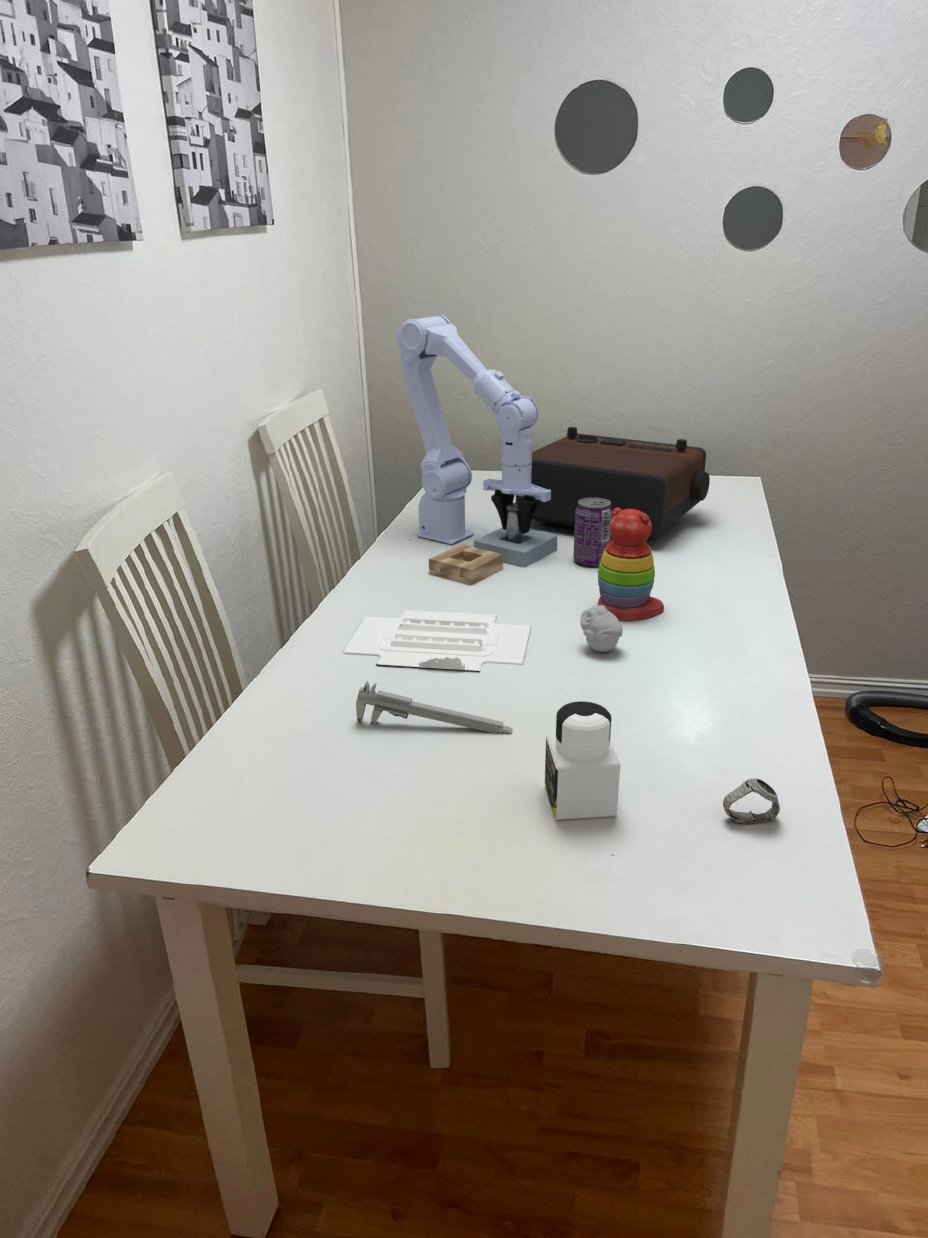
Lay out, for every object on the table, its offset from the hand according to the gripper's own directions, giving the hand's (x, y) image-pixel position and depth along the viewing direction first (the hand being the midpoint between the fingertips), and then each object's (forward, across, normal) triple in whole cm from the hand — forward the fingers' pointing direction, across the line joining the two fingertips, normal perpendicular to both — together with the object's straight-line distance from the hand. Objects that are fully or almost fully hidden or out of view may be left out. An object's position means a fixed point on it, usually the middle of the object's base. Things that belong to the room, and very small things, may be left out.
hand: (515, 530), depth 177 cm
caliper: (+5, +28, -62) cm, 68 cm away
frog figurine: (+5, +35, -29) cm, 46 cm away
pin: (+3, 0, -1) cm, 3 cm away
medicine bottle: (+5, +52, -65) cm, 83 cm away
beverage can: (+5, +15, +4) cm, 16 cm away
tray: (+6, +12, -41) cm, 43 cm away
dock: (+5, 0, 0) cm, 5 cm away
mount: (+5, -2, -14) cm, 15 cm away
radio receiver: (+5, +7, +28) cm, 29 cm away
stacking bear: (+5, +31, -13) cm, 34 cm away
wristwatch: (+5, +69, -57) cm, 90 cm away
